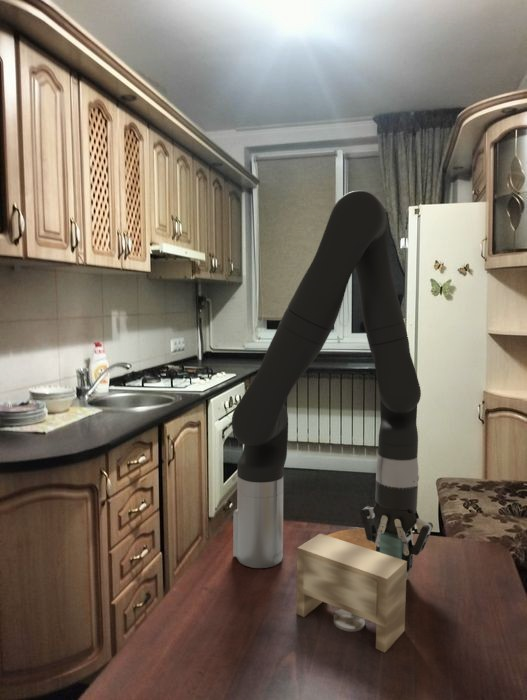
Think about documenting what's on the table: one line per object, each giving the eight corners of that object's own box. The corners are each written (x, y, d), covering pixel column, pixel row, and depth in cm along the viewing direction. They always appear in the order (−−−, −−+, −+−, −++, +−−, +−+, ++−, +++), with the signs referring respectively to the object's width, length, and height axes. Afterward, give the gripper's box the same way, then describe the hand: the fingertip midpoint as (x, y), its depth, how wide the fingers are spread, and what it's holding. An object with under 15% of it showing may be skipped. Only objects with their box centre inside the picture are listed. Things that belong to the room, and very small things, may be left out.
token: (327, 624, 89) (327, 617, 89) (344, 611, 93) (344, 604, 92) (354, 637, 86) (354, 630, 85) (370, 623, 89) (370, 616, 89)
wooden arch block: (295, 614, 91) (296, 548, 90) (319, 596, 97) (320, 533, 96) (384, 653, 81) (386, 579, 80) (404, 630, 87) (406, 561, 86)
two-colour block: (350, 606, 93) (351, 555, 93) (388, 571, 105) (389, 526, 104) (371, 614, 91) (373, 562, 90) (407, 578, 103) (409, 532, 102)
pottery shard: (321, 541, 119) (321, 530, 119) (356, 533, 123) (356, 522, 123) (349, 562, 110) (349, 550, 110) (386, 553, 114) (386, 541, 114)
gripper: (352, 476, 102) (350, 564, 103) (426, 493, 93) (422, 589, 95) (370, 466, 108) (368, 550, 109) (442, 481, 99) (438, 572, 101)
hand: (393, 567), depth 102 cm, fingers closed on two-colour block, 4 cm apart
